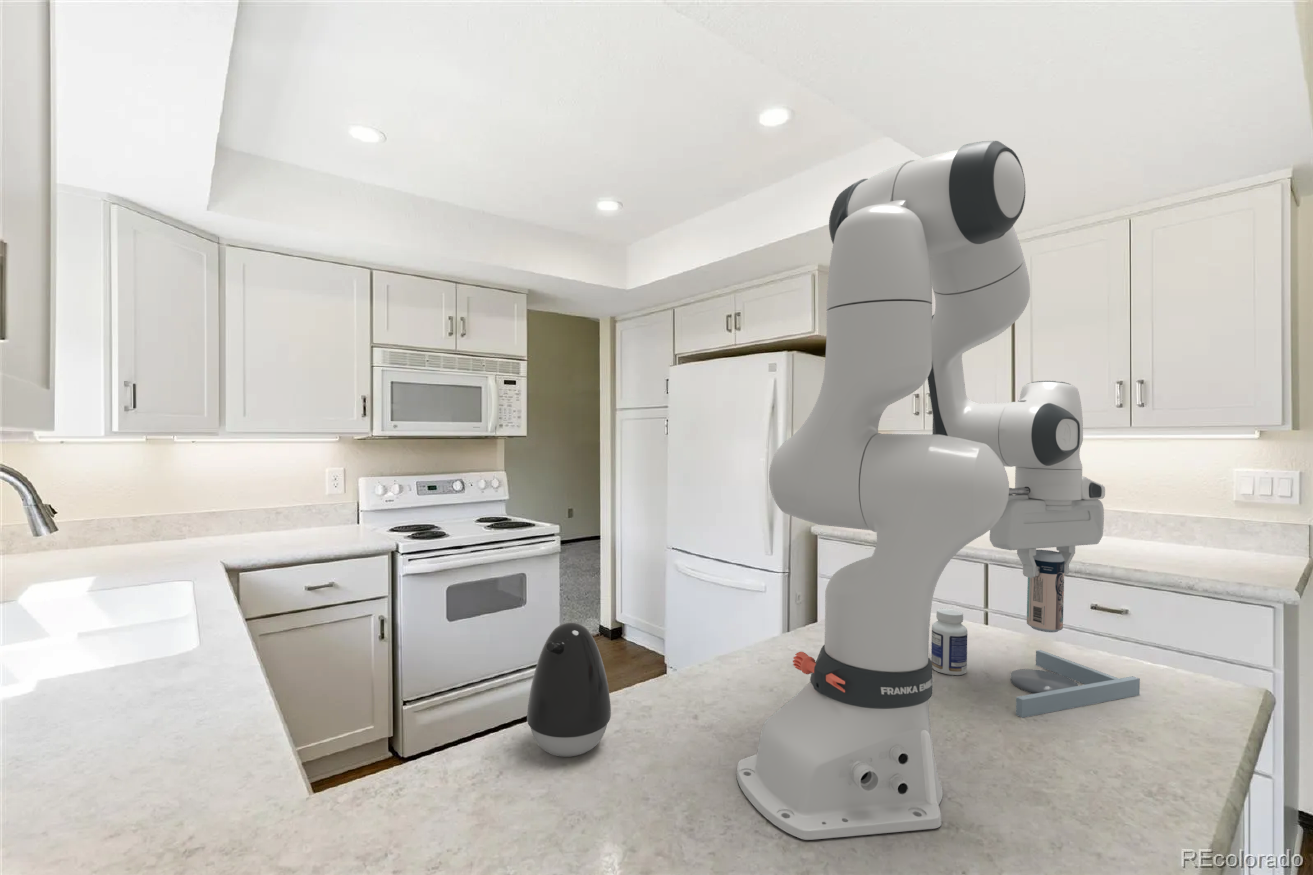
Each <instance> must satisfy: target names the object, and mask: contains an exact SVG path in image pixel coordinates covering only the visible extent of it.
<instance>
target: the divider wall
mask: <svg viewBox="0 0 1313 875" xmlns="http://www.w3.org/2000/svg"><path fill="white" fill-rule="evenodd" d="M1035 666H1037V667H1040V668H1042V669H1044V670H1047V671H1048V672H1052V673H1056V674H1059V675H1062V676H1065V677H1067V678H1069V679H1071V680H1073V681H1076V682H1078V683H1080V684H1082V685H1078V686H1075V687H1069V688H1064V689H1058V690H1052V691H1047V692H1041V693H1035V694H1032V693H1030V694H1025V695H1020V696H1019V695H1018V696H1016V697H1015V715H1016V716H1017V717H1019V718H1021V719H1023V718H1029V717H1033V716H1039V715H1044V714H1045V715H1046V714H1049V713H1055V712H1059V711H1063V710H1070V709H1075V708H1079V707H1085V706H1091V705H1095V704H1100V703H1106V702H1107V703H1108V702H1110V701H1115V700H1116V701H1117V700H1123V699H1126V698H1132V697H1136V696H1140V689H1141V688H1140V685H1141V684H1140V683H1141V682H1140V681H1141V680H1140V678H1138V677H1136V676H1131V675H1130V676H1127V677H1120V678H1118V677H1116V676H1114V675H1110V674H1107V673H1105V672H1102V671H1099V670H1097V669H1094V668H1091V667H1088V666H1085V665H1084V664H1080V663H1077V662H1075V661H1072V660H1069V659H1067V658H1064V657H1061V656H1058V655H1056V654H1052V653H1050V652H1047V651H1044V650H1042V649H1037V650H1035Z"/></svg>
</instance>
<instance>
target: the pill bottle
mask: <svg viewBox="0 0 1313 875" xmlns="http://www.w3.org/2000/svg"><path fill="white" fill-rule="evenodd" d="M935 619H937V621H934V622H933V623H932V624H931V646H930V647H931V648H930V649H931V651H930V652H931V653H930V654H931V655H930V657H931V658H930V660H931V661H932V670H933V671H934V670H935V672H938V673H941V674H943V675H944V674H945V675H950V676H962V675H965V674H966V673H967V671H968V628H967V627H966V626H965V625H964V624H963V622H964V613H963V612H962V611H961V610H957V609H954V608H946V607H945V608H937V609H936V618H935Z"/></svg>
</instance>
